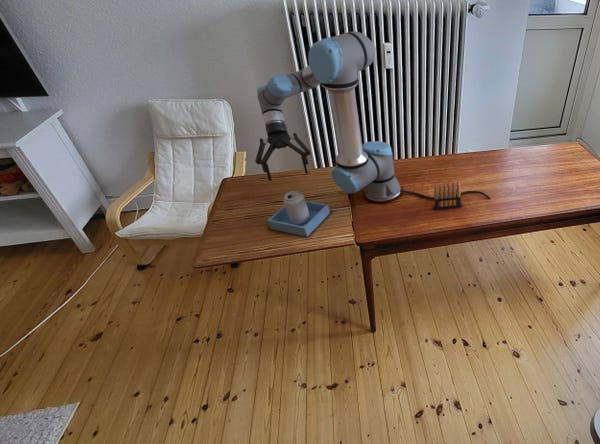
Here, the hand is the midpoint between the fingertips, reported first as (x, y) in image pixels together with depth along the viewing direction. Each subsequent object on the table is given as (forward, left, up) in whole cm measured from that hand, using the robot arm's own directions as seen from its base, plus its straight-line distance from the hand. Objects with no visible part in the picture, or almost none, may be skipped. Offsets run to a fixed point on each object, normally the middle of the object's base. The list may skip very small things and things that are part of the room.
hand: (288, 176), depth 145 cm
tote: (-6, +8, -15) cm, 18 cm away
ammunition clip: (-59, -17, -15) cm, 64 cm away
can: (-6, +8, -15) cm, 18 cm away
